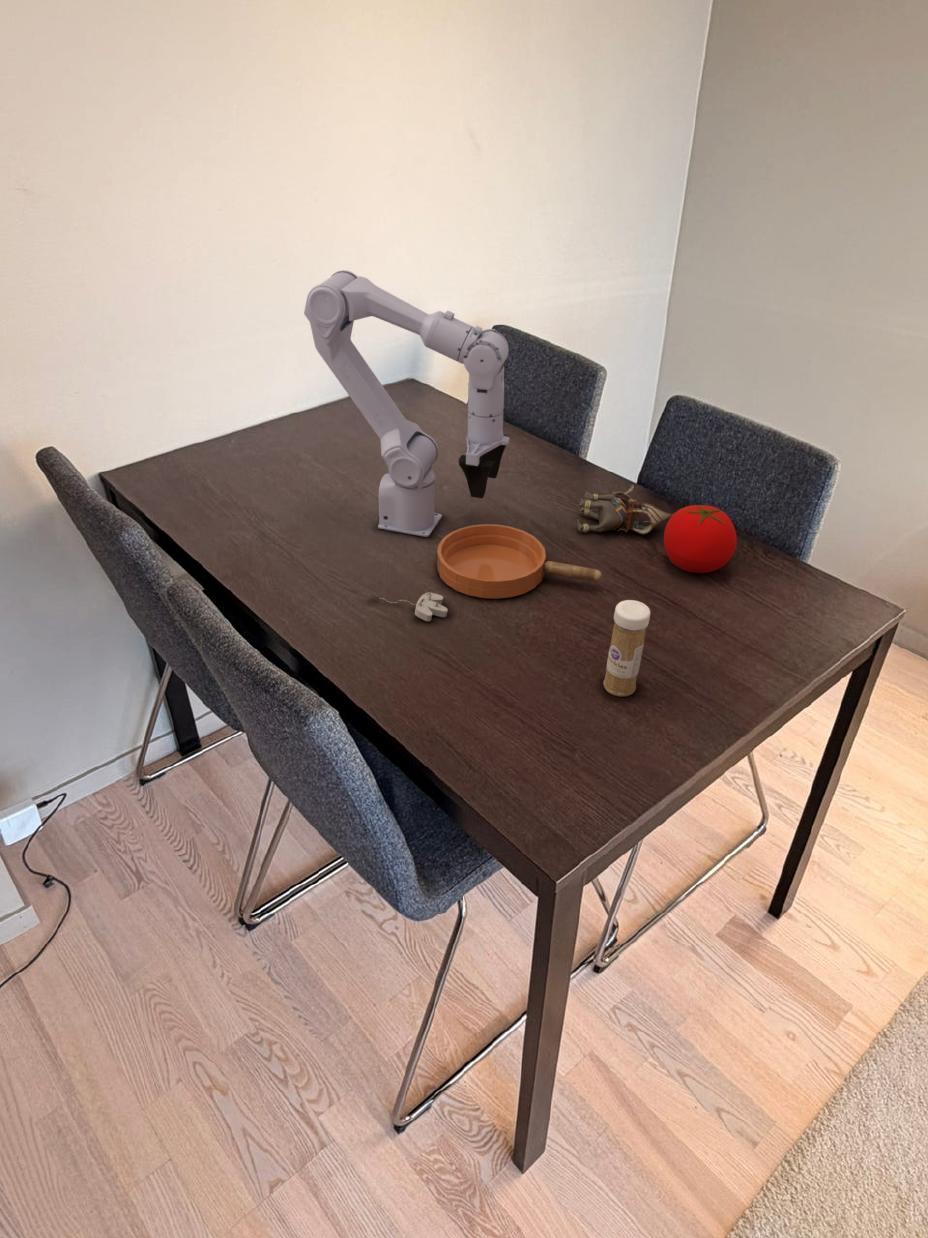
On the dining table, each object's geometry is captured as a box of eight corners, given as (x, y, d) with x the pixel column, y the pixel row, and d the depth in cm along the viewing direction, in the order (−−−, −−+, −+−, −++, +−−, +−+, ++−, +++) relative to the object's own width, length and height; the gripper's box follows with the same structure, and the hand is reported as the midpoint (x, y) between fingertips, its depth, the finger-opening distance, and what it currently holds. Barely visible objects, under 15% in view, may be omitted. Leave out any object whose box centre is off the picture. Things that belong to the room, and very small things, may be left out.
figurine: (586, 469, 163) (677, 481, 161) (582, 499, 166) (671, 510, 164) (576, 514, 147) (678, 528, 144) (572, 546, 150) (671, 560, 147)
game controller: (446, 624, 132) (447, 610, 130) (370, 622, 132) (370, 608, 130) (448, 602, 136) (448, 588, 135) (374, 600, 136) (373, 586, 135)
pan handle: (541, 574, 140) (542, 563, 139) (544, 568, 142) (545, 557, 141) (600, 585, 138) (601, 574, 137) (602, 578, 140) (603, 568, 139)
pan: (422, 588, 139) (422, 569, 137) (455, 534, 153) (456, 516, 151) (529, 609, 135) (531, 589, 133) (553, 552, 149) (555, 534, 147)
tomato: (673, 586, 142) (685, 530, 135) (649, 547, 151) (659, 493, 145) (739, 582, 143) (753, 526, 137) (711, 543, 153) (723, 490, 147)
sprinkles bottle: (596, 688, 120) (608, 609, 113) (614, 672, 123) (627, 594, 115) (625, 703, 118) (639, 623, 110) (642, 686, 121) (657, 607, 113)
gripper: (497, 431, 133) (494, 509, 141) (521, 397, 144) (517, 471, 152) (453, 425, 135) (453, 503, 143) (480, 392, 146) (479, 466, 154)
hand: (483, 486), depth 148 cm, fingers open, 7 cm apart
